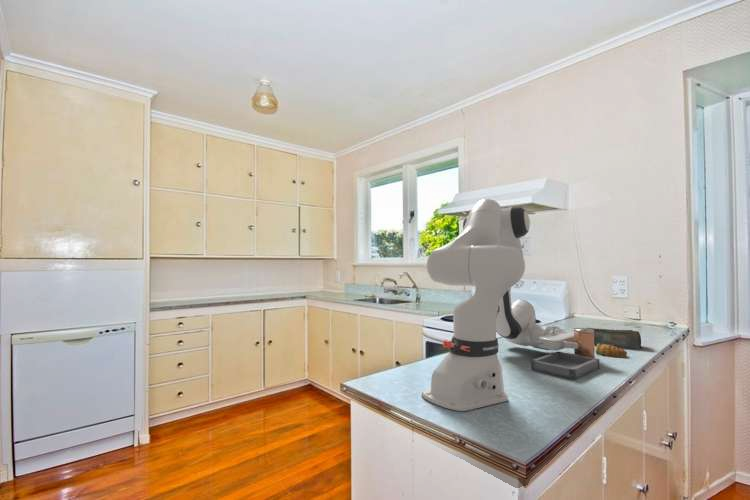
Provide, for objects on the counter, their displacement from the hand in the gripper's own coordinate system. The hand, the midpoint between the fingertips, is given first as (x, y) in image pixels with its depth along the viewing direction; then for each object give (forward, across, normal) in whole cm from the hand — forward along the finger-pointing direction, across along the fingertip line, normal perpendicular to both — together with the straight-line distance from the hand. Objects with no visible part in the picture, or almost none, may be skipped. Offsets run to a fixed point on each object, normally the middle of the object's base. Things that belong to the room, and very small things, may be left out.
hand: (584, 344), depth 123 cm
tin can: (0, 0, +6) cm, 6 cm away
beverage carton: (-4, +35, +6) cm, 36 cm away
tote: (0, -14, +6) cm, 15 cm away
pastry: (+1, +17, +6) cm, 18 cm away
